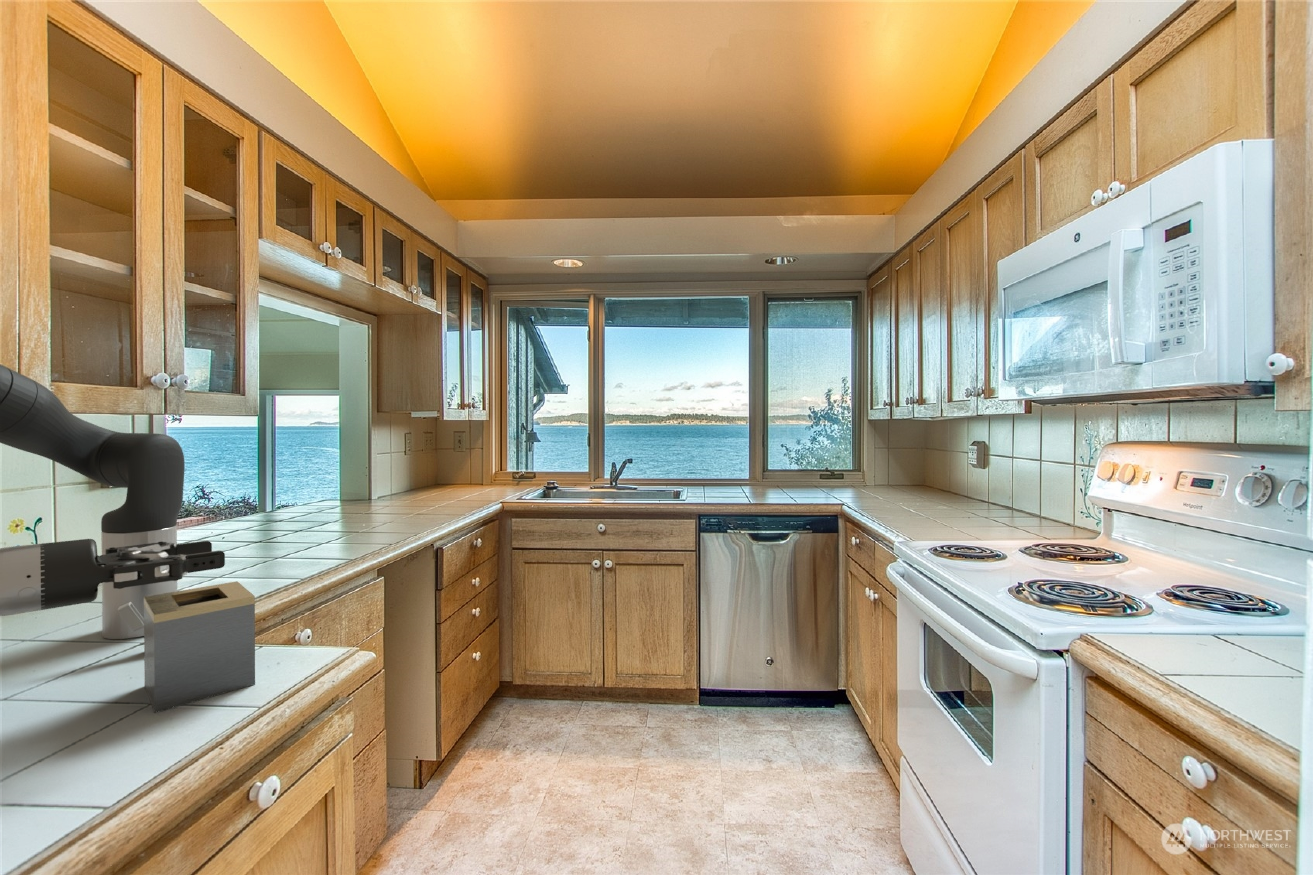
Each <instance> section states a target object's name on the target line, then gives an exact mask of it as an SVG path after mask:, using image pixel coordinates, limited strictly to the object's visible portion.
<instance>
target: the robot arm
mask: <svg viewBox="0 0 1313 875" xmlns="http://www.w3.org/2000/svg"><path fill="white" fill-rule="evenodd" d="M0 444H2V445H4V446H8V447H11V448H14V449H16V450H17V449H18V450H20V451H23V452H26V453H30V454H33V455H36V456H40V457H44V458H46V459H48V460H50V461H53V462H56V463H57V464H60V465H61V466H63V467H66V468H68V469H70V470H72V471H74V472H76V473H79V474H80V475H81V476H84V477H85V478H88V479H90V480H93V481H95V482H97V483H99V484H102V485H104V486H107V487H112V488H125V489H127V490H126V496H125V497H126V498H125V501H124V503H123V504H122V505H120V507H118V508H116V509H113V510H111V511H108V512H105V513H104V514H103V515H102V517H101V522H100V525H101V526H100V528H101V555H98V548H97V547H98V546H97V542H96V540H95V539H93V538H84V539H75V540H74V539H73V540H64V541H63V540H62V541H55V542H54V541H53V542H46V543H44V542H43V543H37V544H35V543H34V544H25V545H14V546H7V547H0V617H6V616H14V615H18V614H19V615H21V614H26V613H32V612H38V611H43V610H44V611H45V610H50V609H55V608H56V609H57V608H63V607H69V606H76V605H81V604H82V605H83V604H86V603H87V604H88V603H92V602H94V601H95V600H96V599H97V598H98V595H99V594H98V593H99V585H100V584H101V588H102V589H101V602H102V603H101V605H102V606H101V610H102V611H101V614H102V615H101V617H102V618H101V619H102V624H101V627H102V631H101V632H102V637H103V638H104V639H111V640H122V639H123V640H125V639H133V638H138V637H144V627H143V628H141V629H139V630H137V631H135V632H134V631H133V630H132V628H131V627H130V626H129V624H128V623H127V622H126V621H125V619H124V618H123V617H122V615H121V614H120V613H119V611H118V608H119V607H120V606H122V605H124V604H127V603H129V602H131V603H132V604H133V605H134V607H135V608H136V609H137V611H138V612H139V613H140V615H141V616H142V617H143V619H144V597H146V596H152V595H158V594H164V593H170V592H176V591H178V581H180V580H182V579H183V577H184V576H187V575H188V574H190V573H197V572H204V571H210V570H211V571H212V570H218V569H222V568H224V567H225V564H226V558H225V555H226V554H225V552H224V551H223V550H213V547H212V546H213V544H212V542H211V541H210V540H202V541H201V540H200V541H193V542H192V541H191V542H183V543H178V539H177V538H178V530H177V528H178V516H179V513H180V511H181V509H182V506H183V500H184V484H185V483H184V482H185V470H186V469H185V467H186V466H185V454H184V452H183V449H182V446H181V445H180V443H179V442H178V441H177V440H176V439H175V438H174V437H172V436H170V435H168V434H164V433H151V432H150V433H148V432H146V433H143V432H142V433H141V432H140V433H139V432H136V433H135V432H120V431H119V432H118V431H114V430H111V429H107V428H105V427H103V426H102V427H101V426H99V425H97V424H93V423H92V422H88V421H87V420H84V419H82V418H79V417H78V416H76V415H75V414H73V413H71V412H70V410H68V408H66V406H65V405H64V404H63V402H62V401H61V400H60V399H59V397H57V396H56V395H55V394H54V392H53V391H51V390H50V389H49V388H47V387H46V386H45V385H43V384H41V383H39V382H38V381H36V380H34V379H32V378H31V377H28V376H26V375H24V374H22V373H20V372H19V371H18V372H17V371H15V370H13V369H11V368H9V367H7V366H5V365H3V364H1V363H0Z"/></svg>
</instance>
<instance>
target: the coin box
mask: <svg viewBox="0 0 1313 875" xmlns="http://www.w3.org/2000/svg"><path fill="white" fill-rule="evenodd" d="M255 598H256V596H255V595H254V594H253V593H252V592H251V591H249V589H247V588H246V587H245V586H244V585H242V584H241V583H240V582H239V581H230V582H225V583H219V584H211V585H207V586H201V587H200V586H199V587H196V588H189V589H184V590H183V589H182V590H177V591H176V592H170V593H164V594H158V595H152V596H146V597H144V636H143V638H144V639H143V640H144V641H143V642H144V643H143V644H144V645H143V648H144V653H143V654H144V655H143V656H144V663H143V664H144V688H145V691H146V694H147V696H148V699H149V702H150V704H151V707H152V709H153V712H154V713H155V714H157V713H159V712H163V711H167V710H171V709H173V708H177V707H180V706H184V705H187V704H190V703H192V704H193V703H194V702H197V701H201V700H205V699H209V698H212V697H216V696H219V695H222V694H225V693H230V692H234V691H236V690H240V689H244V688H246V687H250V686H253V685H256V613H255V612H256V603H255V602H256V601H255V600H256V599H255Z"/></svg>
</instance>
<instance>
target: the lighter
mask: <svg viewBox="0 0 1313 875" xmlns="http://www.w3.org/2000/svg"><path fill="white" fill-rule="evenodd" d="M118 611H119V613H120V614H121V615H122V617H123V618H124V619H125V621H126V622H127V623H128V624H129V626H130V627H131V628H132V630H133V631H134V632H135V631H137V630H139V629H141V628H143V627H144V619H143V617H142V616H141V615H140V613H139V612H138V611H137V609H136V608H135V607H134V605H133V604H132V603H131V602H129V603H127V604H124V605H122V606H120V607H119V608H118Z"/></svg>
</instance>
